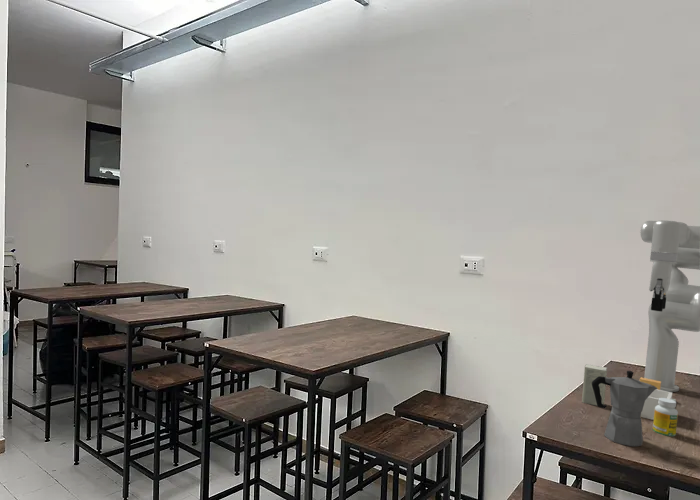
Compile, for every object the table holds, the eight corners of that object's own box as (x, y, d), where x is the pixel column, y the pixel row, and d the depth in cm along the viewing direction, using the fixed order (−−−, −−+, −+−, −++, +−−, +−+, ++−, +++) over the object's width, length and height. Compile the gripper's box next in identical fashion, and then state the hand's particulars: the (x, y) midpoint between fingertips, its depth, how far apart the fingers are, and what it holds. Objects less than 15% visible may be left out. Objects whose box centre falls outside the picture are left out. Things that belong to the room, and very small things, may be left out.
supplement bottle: (658, 429, 139) (661, 395, 139) (679, 437, 135) (683, 402, 134) (648, 432, 136) (652, 398, 136) (669, 440, 132) (673, 404, 131)
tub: (618, 402, 160) (620, 381, 160) (670, 415, 152) (672, 392, 152) (612, 412, 151) (614, 389, 151) (666, 425, 142) (669, 401, 142)
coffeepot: (644, 436, 133) (651, 369, 132) (658, 451, 124) (665, 379, 123) (582, 427, 136) (589, 362, 136) (591, 440, 127) (598, 371, 126)
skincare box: (604, 406, 156) (608, 367, 156) (603, 410, 152) (607, 370, 152) (582, 401, 159) (586, 363, 159) (580, 404, 155) (584, 366, 155)
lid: (624, 392, 174) (626, 373, 174) (675, 404, 165) (677, 384, 165) (618, 401, 163) (620, 381, 163) (672, 413, 155) (674, 392, 154)
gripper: (653, 257, 174) (648, 305, 175) (647, 257, 160) (641, 310, 161) (678, 259, 169) (673, 309, 170) (675, 259, 156) (669, 313, 156)
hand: (658, 309), depth 165 cm, fingers open, 9 cm apart
